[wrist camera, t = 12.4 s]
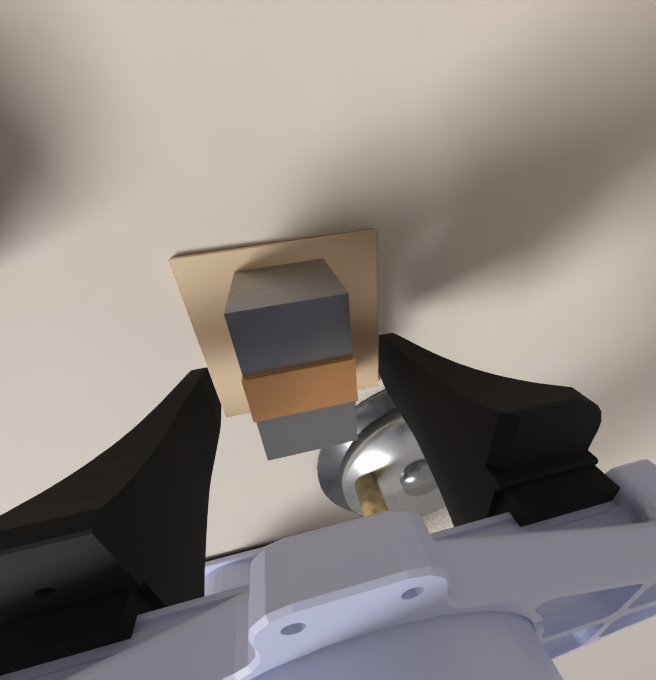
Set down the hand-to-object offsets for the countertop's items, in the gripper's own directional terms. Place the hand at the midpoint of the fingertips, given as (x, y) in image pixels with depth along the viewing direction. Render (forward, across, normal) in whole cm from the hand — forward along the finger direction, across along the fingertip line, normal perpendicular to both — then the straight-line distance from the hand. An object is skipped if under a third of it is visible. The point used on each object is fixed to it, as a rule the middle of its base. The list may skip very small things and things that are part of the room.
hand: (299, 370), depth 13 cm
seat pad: (+3, 0, 0) cm, 4 cm away
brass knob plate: (+3, -7, +12) cm, 14 cm away
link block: (+3, 0, 0) cm, 3 cm away
